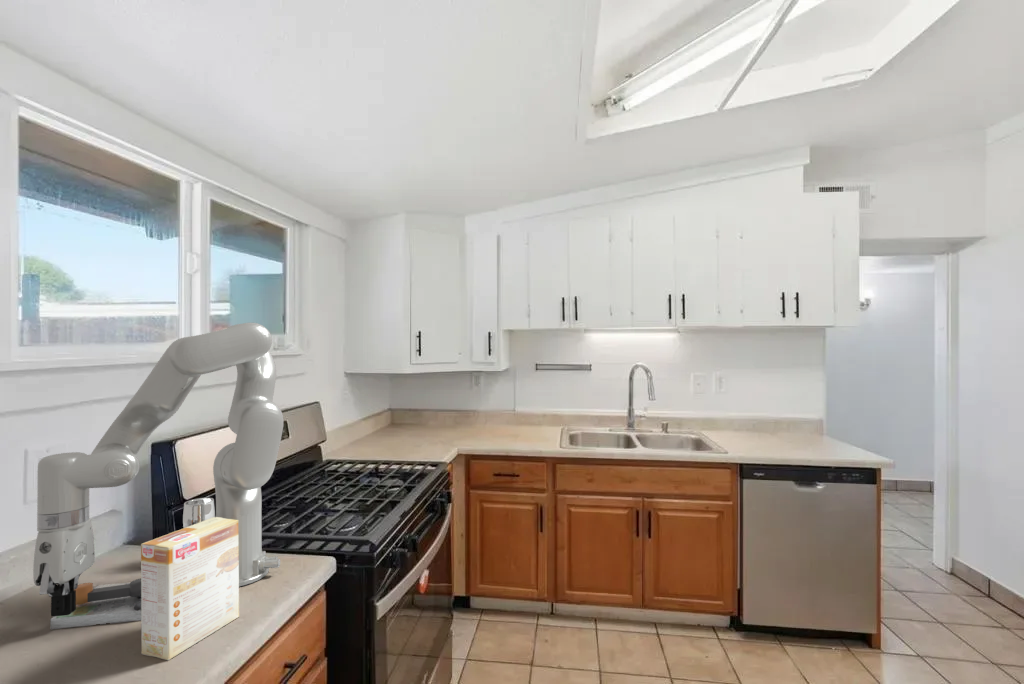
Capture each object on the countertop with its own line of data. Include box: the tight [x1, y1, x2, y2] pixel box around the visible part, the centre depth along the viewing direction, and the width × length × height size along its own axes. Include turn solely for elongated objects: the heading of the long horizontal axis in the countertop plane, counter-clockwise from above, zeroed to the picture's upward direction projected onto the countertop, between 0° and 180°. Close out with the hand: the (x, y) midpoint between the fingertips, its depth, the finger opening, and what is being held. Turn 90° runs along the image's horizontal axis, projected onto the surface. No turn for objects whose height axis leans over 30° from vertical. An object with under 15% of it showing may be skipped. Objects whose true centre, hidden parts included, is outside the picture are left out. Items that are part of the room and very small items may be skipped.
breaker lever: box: [75, 578, 141, 605], centre depth 103 cm, size 13×4×3 cm, turn 108°
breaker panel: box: [50, 582, 141, 630], centre depth 104 cm, size 16×14×2 cm
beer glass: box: [182, 497, 216, 529], centre depth 128 cm, size 7×7×15 cm
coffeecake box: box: [140, 516, 240, 661], centre depth 93 cm, size 15×7×20 cm, turn 162°
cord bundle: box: [134, 601, 141, 611], centre depth 105 cm, size 4×17×3 cm, turn 10°
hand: (63, 613), depth 95 cm, fingers closed
